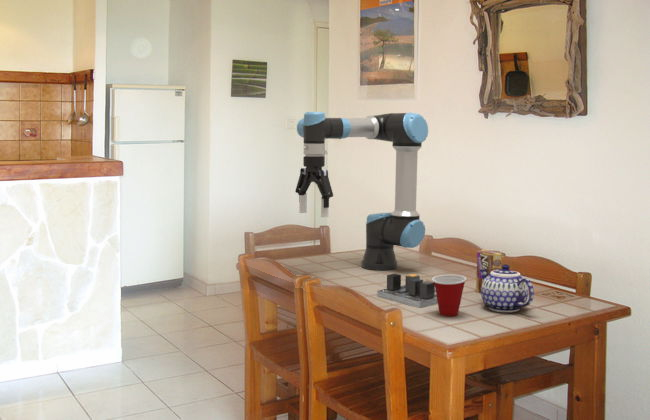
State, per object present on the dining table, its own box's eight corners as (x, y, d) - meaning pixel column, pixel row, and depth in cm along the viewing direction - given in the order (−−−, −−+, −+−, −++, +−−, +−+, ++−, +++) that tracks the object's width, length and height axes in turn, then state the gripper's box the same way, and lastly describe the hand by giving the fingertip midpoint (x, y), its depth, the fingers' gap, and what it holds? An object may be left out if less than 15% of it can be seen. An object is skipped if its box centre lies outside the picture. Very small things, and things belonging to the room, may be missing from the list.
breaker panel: (415, 288, 258) (416, 269, 257) (458, 298, 243) (459, 278, 242) (377, 296, 245) (377, 276, 244) (419, 307, 230) (420, 286, 229)
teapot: (548, 315, 222) (550, 270, 220) (510, 321, 215) (513, 274, 213) (497, 297, 244) (498, 256, 242) (462, 301, 238) (463, 259, 236)
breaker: (413, 288, 248) (413, 273, 247) (419, 289, 246) (419, 275, 245) (405, 289, 245) (405, 275, 245) (411, 291, 243) (411, 276, 242)
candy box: (500, 295, 247) (502, 253, 245) (491, 297, 245) (492, 254, 243) (484, 290, 255) (486, 249, 253) (475, 291, 253) (476, 250, 251)
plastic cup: (423, 312, 224) (424, 275, 223) (450, 308, 229) (451, 272, 228) (445, 320, 215) (446, 282, 213) (472, 316, 220) (473, 279, 219)
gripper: (286, 154, 256) (286, 211, 258) (325, 157, 235) (325, 219, 238) (303, 154, 260) (302, 210, 262) (343, 156, 240) (342, 217, 242)
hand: (313, 214), depth 250 cm, fingers open, 13 cm apart
